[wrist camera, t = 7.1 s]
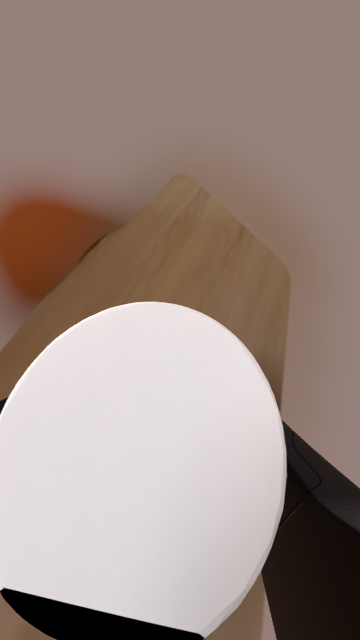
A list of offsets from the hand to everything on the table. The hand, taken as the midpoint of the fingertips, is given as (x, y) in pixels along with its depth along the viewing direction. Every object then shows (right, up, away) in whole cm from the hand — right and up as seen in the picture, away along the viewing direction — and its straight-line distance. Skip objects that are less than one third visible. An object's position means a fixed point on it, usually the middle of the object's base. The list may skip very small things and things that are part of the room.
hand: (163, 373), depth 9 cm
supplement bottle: (-1, -4, +6) cm, 7 cm away
